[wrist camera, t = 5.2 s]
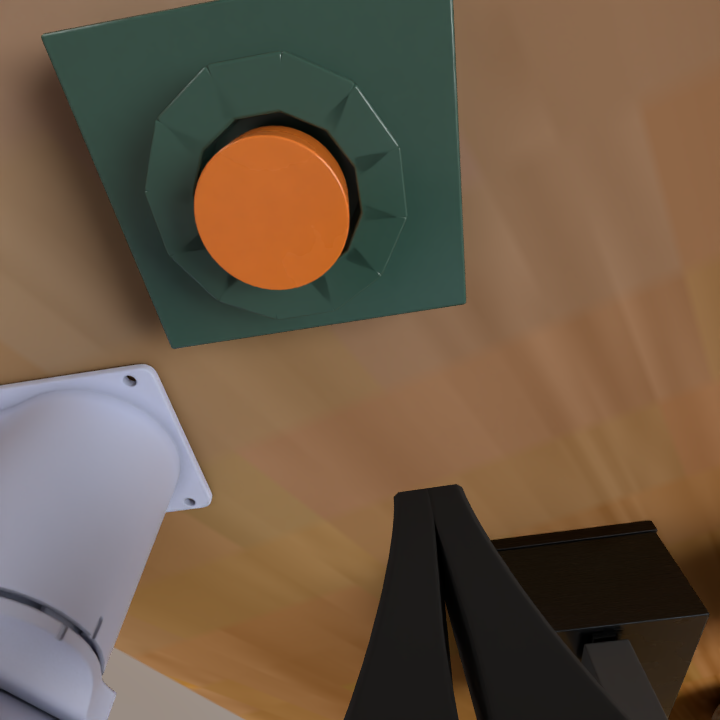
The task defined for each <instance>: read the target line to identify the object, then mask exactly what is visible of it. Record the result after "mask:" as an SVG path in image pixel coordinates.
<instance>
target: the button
mask: <svg viewBox="0 0 720 720" xmlns="http://www.w3.org/2000/svg"><path fill="white" fill-rule="evenodd" d="M194 216H195V222H196V226H197V230H198V233H199V235H200V238H201V240H202V242H203V244H204V246H205V247H206V249H207V251H208V252H209V254H210V255H211V256H212V258H213V259H214V260H215V261H216V262H217V263H218V264H219V265H220V266H221V267H222V268H223V269H224V270H225V271H226V272H228V273H229V274H230V275H232V276H233V277H235V278H237V279H238V280H240V281H242V282H244V283H247V284H249V285H252V286H255V287H259V288H263V289H270V290H286V289H293V288H297V287H301V286H304V285H306V284H309V283H311V282H313V281H315V280H316V279H318V278H319V277H321V276H322V275H324V274H325V273H326V272H327V271H328V270H329V269H330V268H331V267H332V266H333V264H334V263H335V262H336V261H337V259H338V258H339V256H340V254H341V252H342V250H343V248H344V246H345V243H346V240H347V236H348V231H349V217H350V216H349V197H348V188H347V184H346V180H345V177H344V175H343V172H342V170H341V168H340V166H339V164H338V162H337V161H336V159H335V158H334V156H333V155H332V154H331V153H330V152H329V150H328V149H327V148H326V147H325V146H324V145H322V144H321V143H320V142H319V141H318V140H316V139H315V138H313V137H312V136H310V135H308V134H306V133H304V132H302V131H300V130H297V129H294V128H290V127H285V126H273V125H272V126H262V127H258V128H254V129H251V130H249V131H247V132H244V133H243V134H241V135H239V136H238V137H236V138H235V139H234V140H232V141H231V142H230V143H228V144H227V145H226V146H224V147H223V148H222V149H221V150H220V151H218V152H217V153H216V154H215V155H214V156H213V157H212V158H211V159H210V160H209V162H208V163H207V164H206V166H205V168H204V169H203V171H202V173H201V175H200V177H199V179H198V182H197V186H196V189H195V196H194Z"/></svg>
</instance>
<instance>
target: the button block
mask: <svg viewBox="0 0 720 720" xmlns="http://www.w3.org/2000/svg"><path fill="white" fill-rule="evenodd" d="M41 38H42V41H43V43H44V46H45V48H46V51H47V53H48V55H49V58H50V60H51V62H52V65H53V67H54V70H55V72H56V74H57V77H58V79H59V81H60V84H61V86H62V89H63V91H64V93H65V96H66V98H67V100H68V103H69V105H70V108H71V110H72V112H73V115H74V117H75V119H76V122H77V124H78V127H79V129H80V131H81V134H82V136H83V138H84V141H85V143H86V146H87V148H88V150H89V153H90V155H91V157H92V160H93V162H94V165H95V167H96V169H97V172H98V174H99V176H100V179H101V181H102V184H103V186H104V188H105V191H106V193H107V195H108V198H109V200H110V203H111V205H112V207H113V210H114V212H115V214H116V217H117V219H118V222H119V224H120V226H121V229H122V231H123V233H124V236H125V238H126V241H127V243H128V245H129V248H130V250H131V252H132V255H133V257H134V260H135V262H136V264H137V267H138V269H139V271H140V274H141V276H142V279H143V281H144V283H145V286H146V288H147V290H148V293H149V295H150V298H151V300H152V302H153V305H154V307H155V309H156V312H157V314H158V317H159V319H160V321H161V324H162V326H163V328H164V331H165V333H166V336H167V338H168V340H169V343H170V345H171V347H172V348H173V349H176V348H182V347H189V346H195V345H202V344H208V343H215V342H221V341H228V340H234V339H241V338H247V337H254V336H260V335H267V334H273V333H280V332H287V331H293V330H300V329H306V328H313V327H319V326H326V325H332V324H339V323H345V322H352V321H358V320H365V319H371V318H378V317H384V316H391V315H397V314H404V313H410V312H417V311H423V310H430V309H436V308H443V307H449V306H456V305H462V304H465V303H466V284H465V261H464V238H463V215H462V193H461V170H460V147H459V124H458V101H457V78H456V55H455V33H454V10H453V0H215V1H210V2H205V3H199V4H194V5H189V6H184V7H179V8H174V9H168V10H163V11H158V12H153V13H148V14H143V15H137V16H132V17H127V18H122V19H117V20H112V21H107V22H101V23H96V24H91V25H86V26H81V27H76V28H70V29H65V30H60V31H55V32H50V33H45V34H43V35H42V36H41ZM272 125H273V126H285V127H290V128H294V129H297V130H300V131H302V132H304V133H306V134H308V135H310V136H312V137H313V138H315V139H316V140H318V141H319V142H320V143H321V144H322V145H324V146H325V147H326V148H327V149H328V150H329V152H330V153H331V154H332V155H333V156H334V158H335V159H336V161H337V162H338V164H339V166H340V168H341V170H342V172H343V175H344V177H345V180H346V184H347V188H348V197H349V216H350V217H349V231H348V236H347V240H346V243H345V246H344V248H343V250H342V252H341V254H340V256H339V258H338V259H337V261H336V262H335V263H334V264H333V266H332V267H331V268H330V269H329V270H328V271H327V272H326V273H325V274H324V275H322V276H321V277H319V278H318V279H316V280H315V281H313V282H311V283H309V284H306V285H304V286H301V287H297V288H293V289H286V290H270V289H263V288H259V287H255V286H252V285H249V284H247V283H244V282H242V281H240V280H238V279H237V278H235V277H233V276H232V275H230V274H229V273H228V272H226V271H225V270H224V269H223V268H222V267H221V266H220V265H219V264H218V263H217V262H216V261H215V260H214V259H213V258H212V256H211V255H210V254H209V252H208V251H207V249H206V247H205V246H204V244H203V242H202V240H201V238H200V235H199V233H198V230H197V226H196V222H195V216H194V196H195V189H196V186H197V182H198V179H199V177H200V175H201V173H202V171H203V169H204V168H205V166H206V164H207V163H208V162H209V160H210V159H211V158H212V157H213V156H214V155H215V154H216V153H217V152H218V151H220V150H221V149H222V148H223V147H224V146H226V145H227V144H228V143H230V142H231V141H232V140H234V139H235V138H236V137H238V136H239V135H241V134H243V133H244V132H247V131H249V130H251V129H254V128H258V127H262V126H272Z"/></svg>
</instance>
